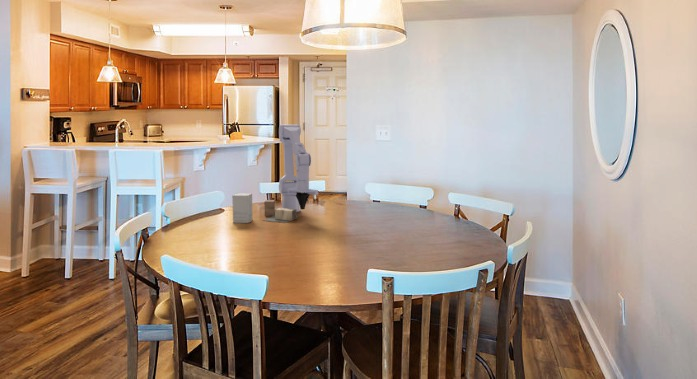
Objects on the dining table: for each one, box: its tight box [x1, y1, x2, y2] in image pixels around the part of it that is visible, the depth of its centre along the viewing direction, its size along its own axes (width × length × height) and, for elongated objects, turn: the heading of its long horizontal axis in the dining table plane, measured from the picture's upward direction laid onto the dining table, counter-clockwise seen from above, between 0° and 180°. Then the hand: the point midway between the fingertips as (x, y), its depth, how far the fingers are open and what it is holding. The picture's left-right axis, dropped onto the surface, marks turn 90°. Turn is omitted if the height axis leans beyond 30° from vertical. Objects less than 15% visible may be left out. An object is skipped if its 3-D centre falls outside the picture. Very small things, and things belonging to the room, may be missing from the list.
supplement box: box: [231, 192, 254, 224], centre depth 226 cm, size 7×7×13 cm
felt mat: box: [262, 215, 299, 224], centre depth 234 cm, size 14×12×1 cm
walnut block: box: [264, 199, 276, 217], centre depth 243 cm, size 4×4×7 cm
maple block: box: [274, 207, 297, 221], centre depth 233 cm, size 4×4×9 cm
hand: (302, 209), depth 230 cm, fingers closed
